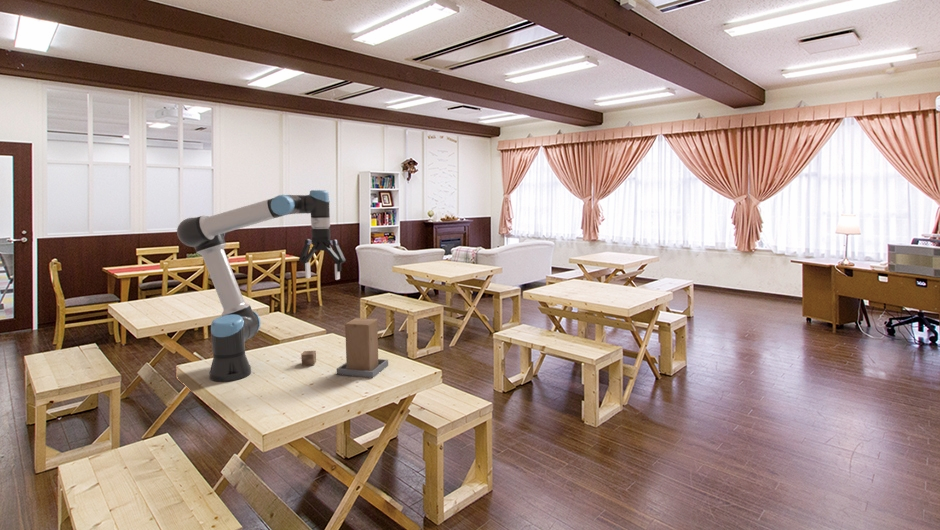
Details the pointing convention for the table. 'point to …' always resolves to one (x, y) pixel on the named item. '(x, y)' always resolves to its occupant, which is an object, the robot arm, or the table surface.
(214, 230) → the robot arm
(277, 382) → the table surface
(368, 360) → the wooden block
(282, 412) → the table surface
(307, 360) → the walnut cube
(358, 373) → the tray
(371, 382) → the table surface
